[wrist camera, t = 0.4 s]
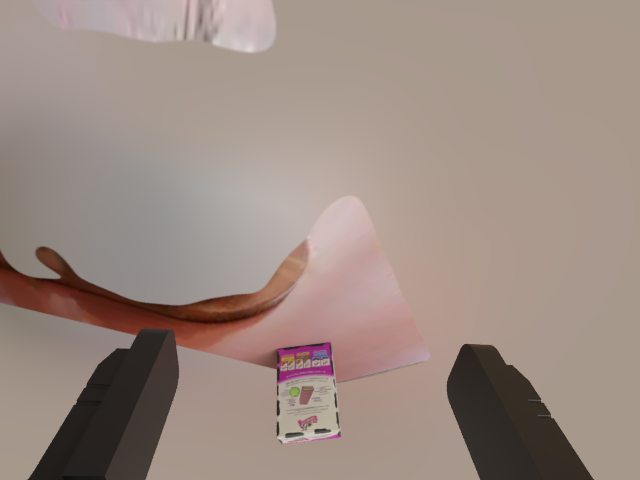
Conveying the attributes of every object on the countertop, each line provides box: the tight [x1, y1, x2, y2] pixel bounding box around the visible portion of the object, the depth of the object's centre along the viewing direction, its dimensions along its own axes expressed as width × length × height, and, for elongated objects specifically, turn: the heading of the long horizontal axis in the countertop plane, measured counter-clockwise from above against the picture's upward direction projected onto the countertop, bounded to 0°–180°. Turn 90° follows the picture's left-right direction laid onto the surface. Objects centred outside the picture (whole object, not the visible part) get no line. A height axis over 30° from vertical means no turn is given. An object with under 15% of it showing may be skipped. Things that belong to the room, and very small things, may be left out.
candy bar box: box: [277, 343, 341, 444], centre depth 68 cm, size 11×5×16 cm, turn 98°
